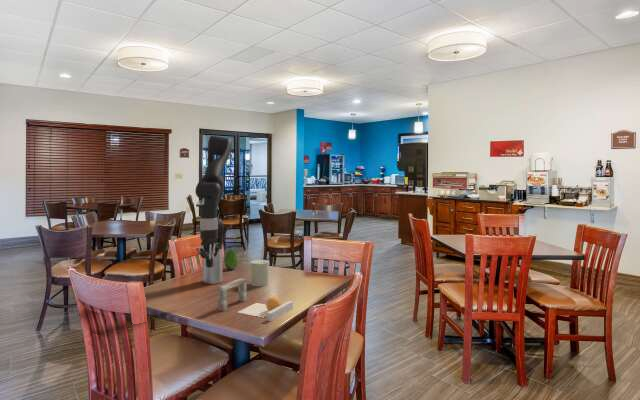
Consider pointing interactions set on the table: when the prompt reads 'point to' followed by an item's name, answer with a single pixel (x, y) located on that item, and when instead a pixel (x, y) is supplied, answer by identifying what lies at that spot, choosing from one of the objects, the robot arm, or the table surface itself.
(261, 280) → the can
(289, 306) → the wall
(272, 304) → the ball
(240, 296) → the bridge
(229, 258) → the avocado
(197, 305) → the table surface
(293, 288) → the table surface
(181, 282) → the table surface
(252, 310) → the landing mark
